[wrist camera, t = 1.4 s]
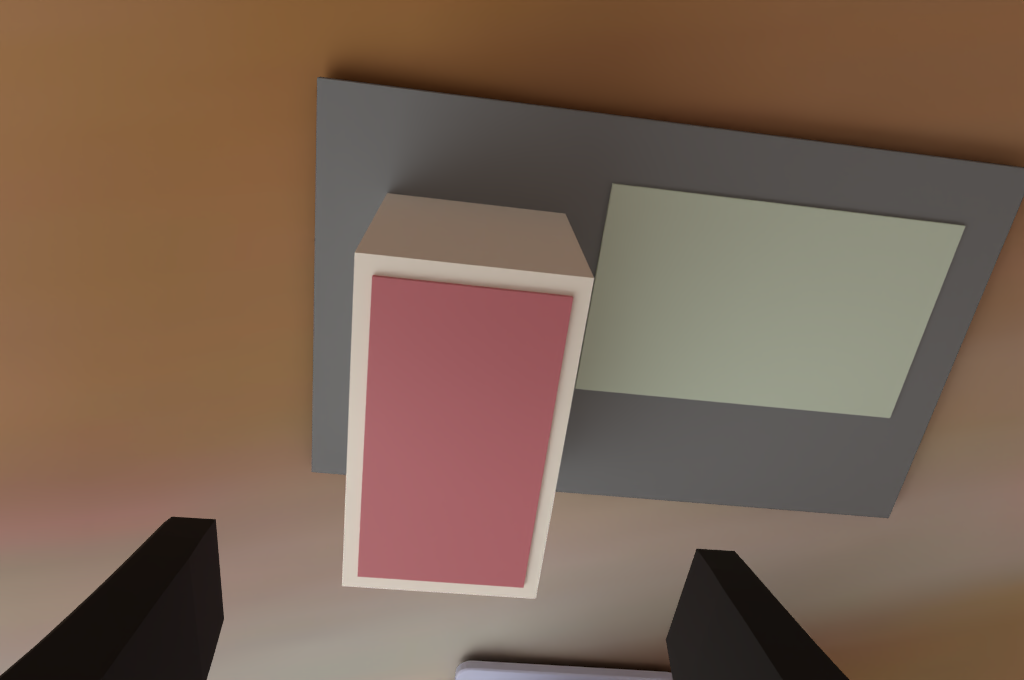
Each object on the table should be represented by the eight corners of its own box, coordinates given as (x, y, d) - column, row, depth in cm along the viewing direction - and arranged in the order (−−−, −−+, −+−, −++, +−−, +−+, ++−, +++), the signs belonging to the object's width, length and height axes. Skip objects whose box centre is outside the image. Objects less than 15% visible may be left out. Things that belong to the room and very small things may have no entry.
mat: (883, 512, 23) (890, 520, 22) (313, 466, 21) (310, 473, 21) (1026, 167, 18) (1037, 170, 18) (320, 76, 17) (316, 78, 16)
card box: (523, 475, 21) (535, 602, 17) (372, 462, 21) (341, 589, 16) (565, 213, 18) (594, 280, 13) (387, 192, 18) (354, 253, 13)
